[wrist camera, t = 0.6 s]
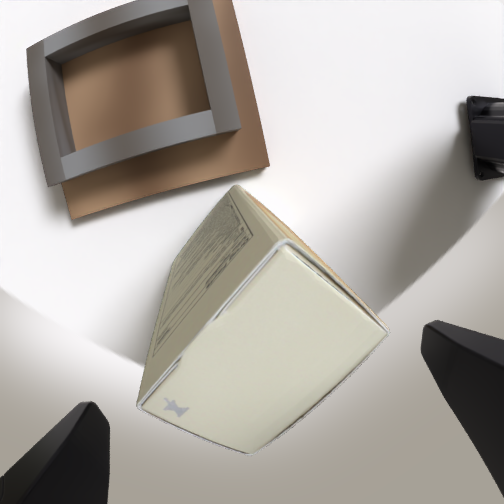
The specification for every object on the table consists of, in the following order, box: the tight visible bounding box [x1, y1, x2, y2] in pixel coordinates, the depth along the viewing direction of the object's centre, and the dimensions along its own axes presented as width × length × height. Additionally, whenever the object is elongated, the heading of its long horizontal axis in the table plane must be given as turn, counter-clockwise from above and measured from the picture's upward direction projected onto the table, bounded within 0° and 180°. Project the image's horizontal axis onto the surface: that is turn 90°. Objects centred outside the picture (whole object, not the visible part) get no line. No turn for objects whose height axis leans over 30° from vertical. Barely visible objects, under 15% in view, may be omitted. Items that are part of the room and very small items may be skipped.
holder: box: [26, 0, 270, 220], centre depth 14 cm, size 12×12×3 cm
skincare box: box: [136, 185, 390, 456], centre depth 13 cm, size 6×4×12 cm
